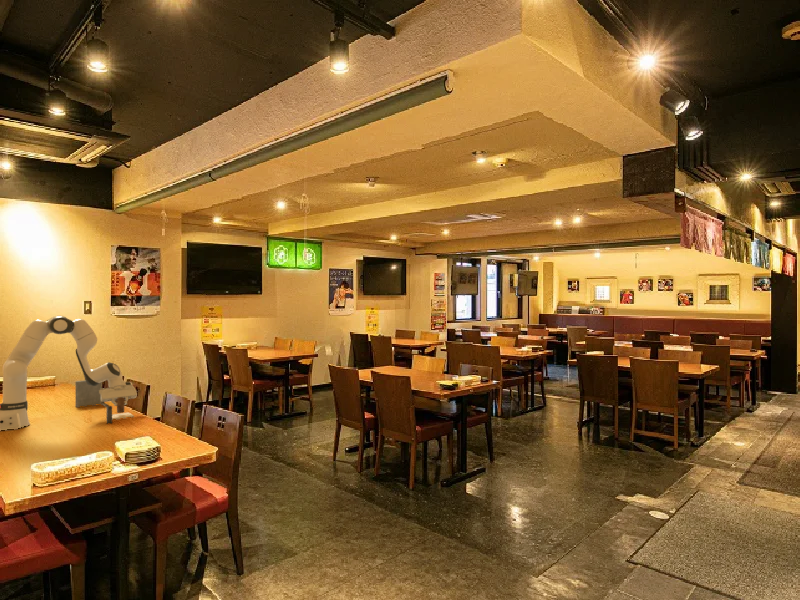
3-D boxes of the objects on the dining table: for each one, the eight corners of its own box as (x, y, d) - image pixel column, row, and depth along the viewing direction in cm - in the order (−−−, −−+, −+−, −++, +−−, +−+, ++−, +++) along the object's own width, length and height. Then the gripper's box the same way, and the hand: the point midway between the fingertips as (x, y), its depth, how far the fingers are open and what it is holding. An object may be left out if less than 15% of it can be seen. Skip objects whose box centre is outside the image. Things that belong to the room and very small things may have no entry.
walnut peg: (118, 413, 318) (118, 398, 318) (116, 412, 321) (116, 397, 321) (125, 412, 320) (125, 398, 320) (123, 411, 323) (123, 397, 323)
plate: (112, 420, 312) (112, 418, 312) (107, 416, 321) (107, 415, 321) (133, 417, 320) (133, 415, 320) (128, 413, 329) (128, 412, 329)
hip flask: (75, 407, 349) (75, 378, 349) (74, 406, 352) (74, 377, 352) (102, 404, 359) (102, 376, 359) (101, 403, 362) (101, 375, 363)
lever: (107, 423, 302) (107, 406, 302) (100, 418, 316) (100, 401, 316) (112, 423, 304) (112, 405, 304) (104, 418, 317) (104, 401, 317)
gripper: (99, 385, 319) (103, 403, 311) (135, 382, 332) (139, 399, 325) (97, 392, 322) (101, 410, 315) (133, 388, 336) (137, 405, 328)
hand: (121, 404), depth 320 cm, fingers closed on walnut peg, 4 cm apart
